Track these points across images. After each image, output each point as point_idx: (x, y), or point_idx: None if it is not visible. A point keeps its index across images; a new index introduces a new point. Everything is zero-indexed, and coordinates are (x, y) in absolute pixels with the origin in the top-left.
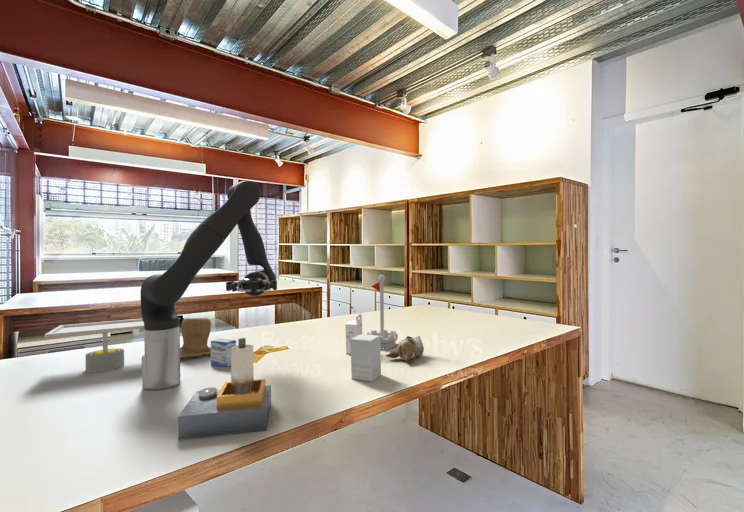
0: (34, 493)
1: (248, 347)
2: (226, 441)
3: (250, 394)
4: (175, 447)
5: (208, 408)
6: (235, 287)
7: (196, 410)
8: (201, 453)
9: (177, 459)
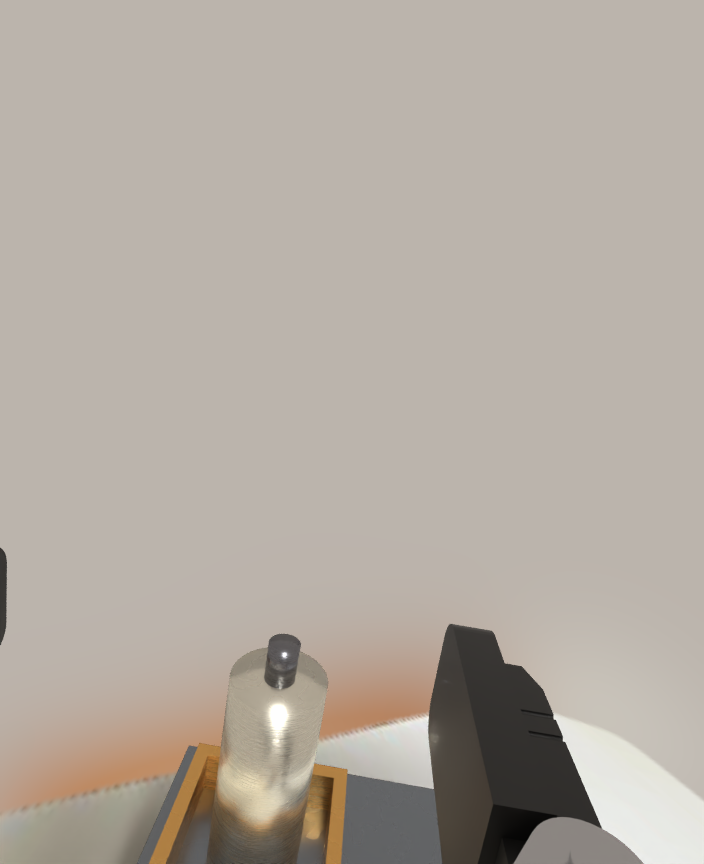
0: (607, 749)
1: (253, 666)
2: None
3: None
4: None
5: (368, 812)
6: (446, 728)
7: (404, 811)
8: (352, 760)
9: (399, 757)
